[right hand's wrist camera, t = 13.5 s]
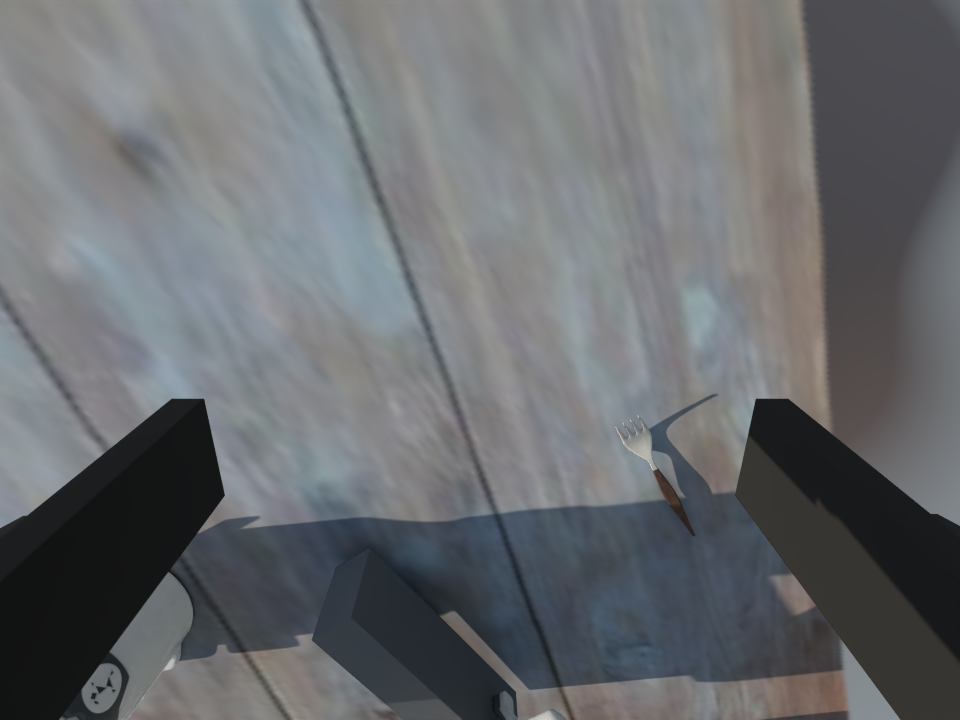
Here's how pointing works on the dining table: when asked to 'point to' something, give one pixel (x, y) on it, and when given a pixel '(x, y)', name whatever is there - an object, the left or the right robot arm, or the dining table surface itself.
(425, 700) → the bar
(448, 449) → the dining table surface
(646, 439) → the fork
